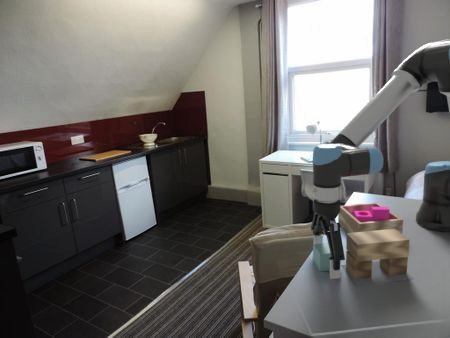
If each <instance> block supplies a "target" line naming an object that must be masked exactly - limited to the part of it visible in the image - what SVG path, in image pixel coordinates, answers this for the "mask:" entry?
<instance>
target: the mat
mask: <svg viewBox="0 0 450 338" xmlns="http://www.w3.org/2000/svg"><path fill="white" fill-rule="evenodd" d="M340 267H341V269H343V270H344V271H345V272H346V274H347V275H348V277H349V278H350V279H351V281H352V282H353V283H354V285H355V286H359V285H360V286H361V285H362V286H363V285H370V284H378V283H379V284H380V283H387V282H389V283H390V282H396V281H397V282H398V281H408V280H414V279H415V278H414V277H412V275H410V273H408V272H407V274H401V275H391V276H389V275H388V274H387V273H386V272H385V271H384V270H383V269H382V268H381V267H380V260H379V261H378V260H377V261H376V260H375V261H372V277H371V278H363V279H353V278H352V277H351V275H350V274H349V273H348V271H347V270H346V264H340Z"/></svg>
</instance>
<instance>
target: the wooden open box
mask: <svg viewBox="0 0 450 338" xmlns="http://www.w3.org/2000/svg"><path fill="white" fill-rule="evenodd" d="M371 207H384V206H383V205H382V204H380V203H378V202H376V201H375V202H367V203H355V204H345V205H340V213H339V214H337V215H338V219H337V221H338V222H337V223H340V227H341V228H343V229H344V230H345V232H346V233H354V232H365V231H375V230H386V229H396V230H397V231H398V232H400V233H401V234H402V235H403V230H404V228H403V226H404V219H403V218H401V217H399V216H398V215H397V214H395V213H394V212H392V211H391V210H389V219H383V220H381V221H371V222H360V221H359V220H357V219H356V218H355V217H354V216H353V212H354V211H369V210H370V208H371Z"/></svg>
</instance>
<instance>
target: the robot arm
mask: <svg viewBox="0 0 450 338" xmlns="http://www.w3.org/2000/svg"><path fill="white" fill-rule="evenodd" d="M432 82H437V85H438V86H437V87H438V92H440V93H439V94H443V95H445V96H446V99H447V106H448V111H449V113H450V38H447V39H442V40H441V39H440V40H435V41H431V42H429V43H425V44H424V45H422V46H420V47H419V48H417V49H416V50H414V51H413V52H412V53H411V54H410V55H408V57H407V58H405V59H404V60H403V61H401V63H400V64H399V65H398V66H397V67H396V68H395V69H394V70H393V71H392V73H391V78H390V79H389V80H388V81H387V82H386V83H385V84H384V85H383V87H382V88H380V89H379V91H377V93H376V94H375V95H374V96H373V97H372V98H371V99H370V100H369V102H367V103H366V104H365V106H363V108H362V109H361V110H360V111H358V113H357V114H355V116H354V117H353V118H352V119H351V120H350V121H349V122H348V124H347V125H345V126H344V127H343V129H342V130H340V132H339V133H338V134H337V135H336V136H335V137H334V138H333V139H328V140H325V141H323V142H322V143H321V144H317V145H316V146H314V148H313V150H312V151H313V152H312V159H311V163H312V188H311V192H312V198H313V199H312V211H313V217H312V222H311V225H310V229H311V231H312V234H313V245H314V244H323V243H324V235H325V236H326V239H327V243H328V244H329V249H330V253H331V257H330V258H329V259H330V270H329V279H330V280H334V279H341V261H345V260H346V255H345V252H344V246H343V239H342V233H341V225H340V223H338V222H337V221H336V218H335V217H336V216H337V215H338V214H339V213H340V206H341V203H342V201H341V198H342V178H347V177H357V176H365V175H367V176H369V175H371V174H376V173H379V172H380V171H381V170H382V169H383V167H384V156H383V153H382V151H381V150H380V149H379V148H377V147H375V146H374V147H370V146H369V147H368V146H366V147H361V145H362V144H363V143H364V142H365V141H366V140H367V139H368V138H369V137H371V135H373V133H374V132H375V131H376V130H377V129H378V128H379V127H380V126H381V125H382V123H384V122H385V121H386V119H388V117H389V116H390V115H392V113H393V112H394V111H395V110H396V109H397V108H398V107H400V105H401V104H402V103H403V102H404V101H405V100H406V99H407V98H408V97H409V95H411V94H412V93H416V92H418V91H419V90H420V89H421V88H422V87H423V86H425V85H427V84H429V83H432ZM422 193H423V194H422V202H421V203H420V206H419V208H418V211H417V212H416V214H415V222H416V223H417V224H418V225H419V226H421V227H423V228H425V229H429V230H433V231H437V232H446V233H447V232H448V233H450V160H444V161H443V160H442V161H433V162H429V163H427V164H426V166H425V170H424V176H423V191H422ZM323 234H324V235H323Z"/></svg>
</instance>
